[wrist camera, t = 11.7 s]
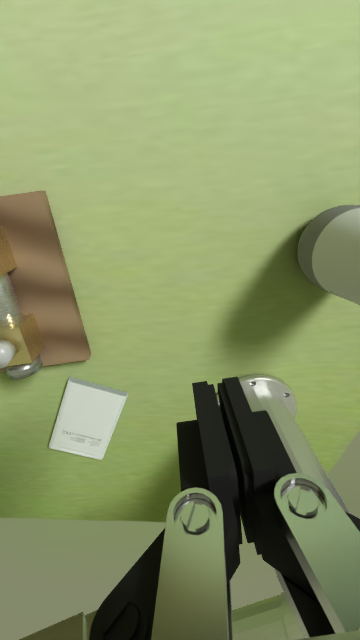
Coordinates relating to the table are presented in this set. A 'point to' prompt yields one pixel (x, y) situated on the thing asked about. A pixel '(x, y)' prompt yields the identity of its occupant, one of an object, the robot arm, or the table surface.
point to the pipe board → (43, 277)
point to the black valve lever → (6, 352)
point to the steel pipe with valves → (17, 321)
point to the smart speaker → (333, 251)
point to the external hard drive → (87, 418)
